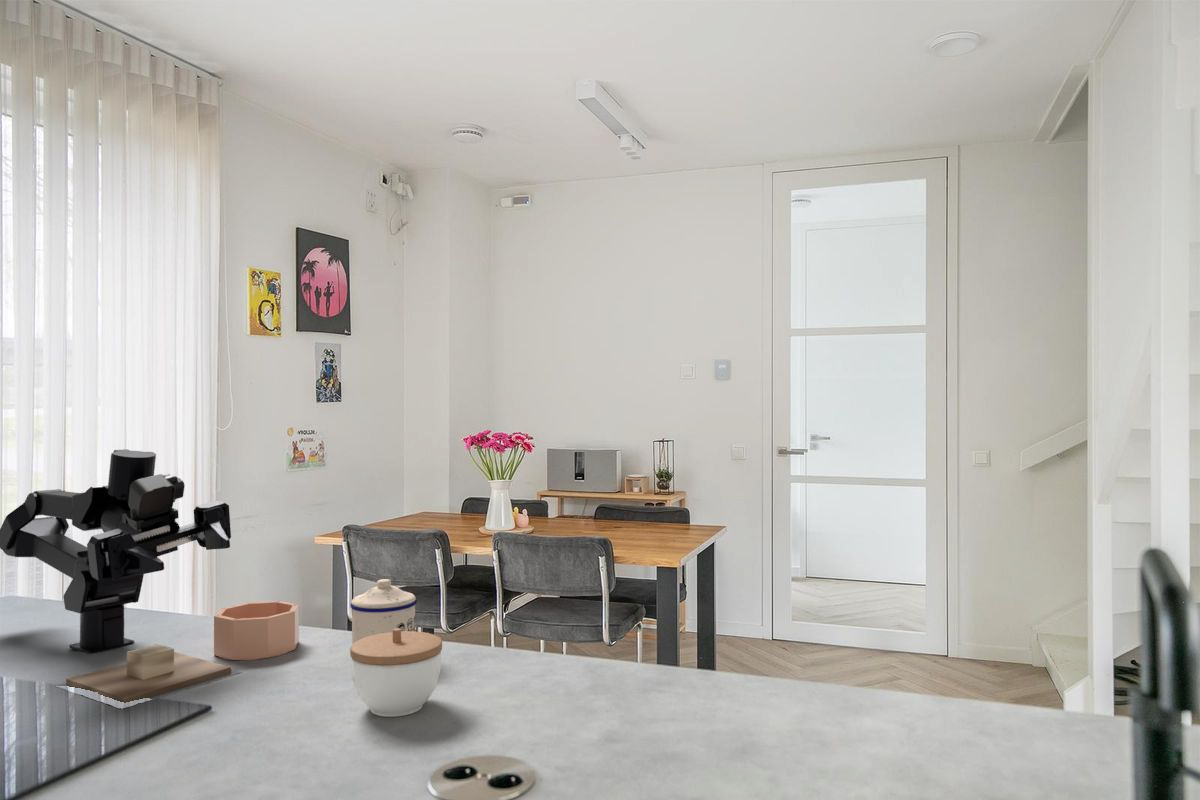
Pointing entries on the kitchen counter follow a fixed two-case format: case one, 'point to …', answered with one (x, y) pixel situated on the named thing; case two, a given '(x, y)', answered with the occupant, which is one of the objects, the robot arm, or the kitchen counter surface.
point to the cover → (148, 674)
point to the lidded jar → (396, 671)
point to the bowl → (256, 630)
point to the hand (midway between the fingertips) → (196, 555)
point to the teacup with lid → (382, 611)
